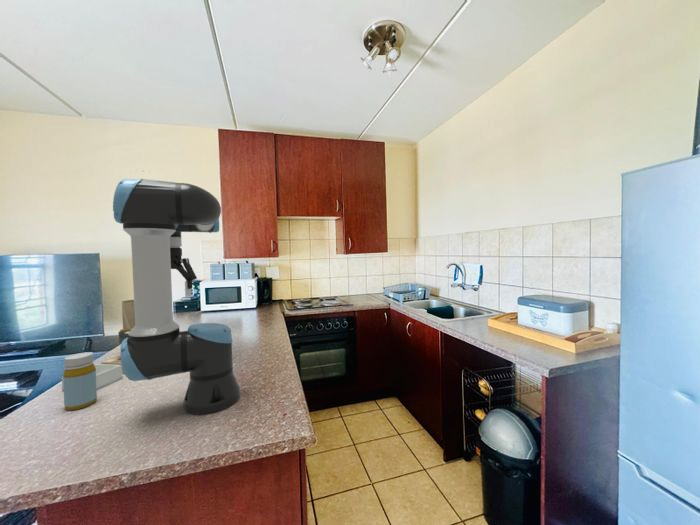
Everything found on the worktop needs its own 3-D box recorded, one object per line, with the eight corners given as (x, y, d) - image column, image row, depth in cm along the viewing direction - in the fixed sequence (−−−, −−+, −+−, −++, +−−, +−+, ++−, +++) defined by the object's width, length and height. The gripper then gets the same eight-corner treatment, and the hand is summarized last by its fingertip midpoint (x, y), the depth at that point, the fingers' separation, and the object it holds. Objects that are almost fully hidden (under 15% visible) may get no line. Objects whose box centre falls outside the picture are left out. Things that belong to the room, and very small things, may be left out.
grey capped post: (142, 364, 115) (141, 327, 115) (131, 370, 109) (129, 331, 109) (127, 364, 115) (126, 327, 115) (115, 370, 109) (114, 331, 109)
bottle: (94, 396, 89) (92, 350, 88) (98, 403, 84) (96, 354, 84) (63, 406, 83) (61, 356, 83) (66, 414, 79) (63, 361, 78)
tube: (133, 359, 122) (131, 302, 121) (118, 357, 125) (116, 301, 124) (156, 351, 131) (154, 299, 131) (141, 349, 134) (139, 298, 134)
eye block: (127, 374, 105) (127, 363, 105) (101, 372, 107) (101, 362, 107) (155, 362, 117) (154, 353, 117) (130, 361, 119) (130, 352, 119)
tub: (89, 393, 91) (89, 378, 91) (62, 391, 93) (61, 376, 93) (122, 378, 102) (121, 365, 102) (97, 377, 104) (96, 363, 104)
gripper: (204, 247, 122) (206, 295, 122) (151, 248, 124) (153, 295, 124) (193, 246, 114) (195, 297, 115) (137, 247, 116) (139, 298, 117)
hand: (173, 296), depth 119 cm, fingers open, 13 cm apart
